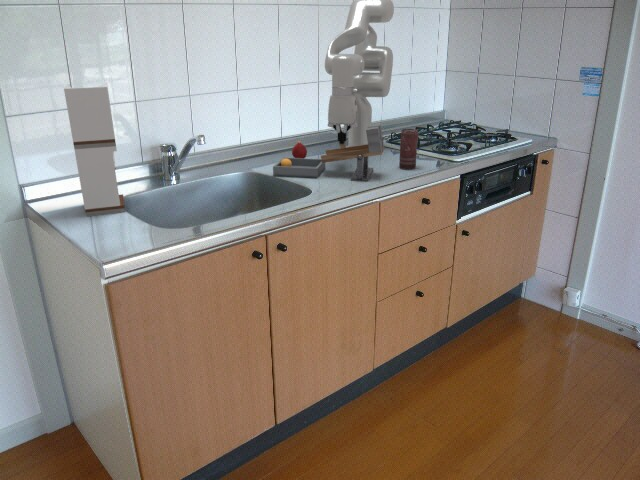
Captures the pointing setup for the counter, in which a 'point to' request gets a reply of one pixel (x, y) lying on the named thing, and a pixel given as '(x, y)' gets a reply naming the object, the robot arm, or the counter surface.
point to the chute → (358, 147)
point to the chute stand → (362, 170)
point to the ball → (286, 163)
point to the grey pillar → (94, 148)
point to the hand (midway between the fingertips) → (342, 143)
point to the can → (408, 149)
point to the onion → (299, 151)
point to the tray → (300, 168)
